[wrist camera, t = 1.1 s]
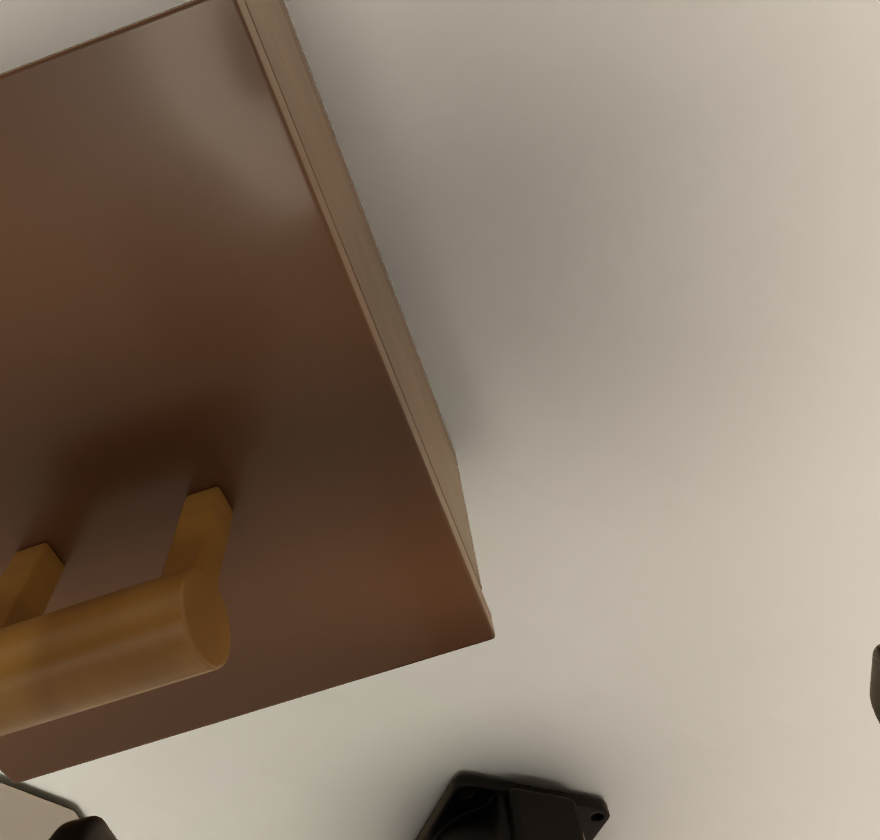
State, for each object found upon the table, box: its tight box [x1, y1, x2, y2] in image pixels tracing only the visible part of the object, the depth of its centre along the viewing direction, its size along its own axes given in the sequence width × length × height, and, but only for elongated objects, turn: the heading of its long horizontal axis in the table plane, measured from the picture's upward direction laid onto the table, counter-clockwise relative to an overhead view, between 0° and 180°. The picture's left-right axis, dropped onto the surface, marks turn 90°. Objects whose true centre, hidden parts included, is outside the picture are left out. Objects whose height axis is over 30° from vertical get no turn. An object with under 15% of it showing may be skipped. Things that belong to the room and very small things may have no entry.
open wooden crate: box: [244, 0, 482, 591], centre depth 18 cm, size 13×12×6 cm
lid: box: [0, 0, 495, 783], centre depth 14 cm, size 13×12×5 cm
